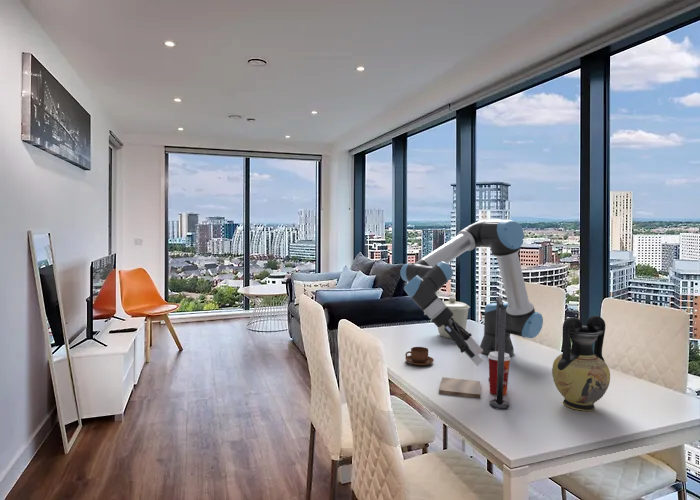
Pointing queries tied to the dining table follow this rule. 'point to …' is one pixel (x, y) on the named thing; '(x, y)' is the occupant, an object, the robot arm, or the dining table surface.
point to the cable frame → (500, 355)
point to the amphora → (582, 364)
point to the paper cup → (493, 371)
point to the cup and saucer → (419, 356)
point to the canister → (455, 314)
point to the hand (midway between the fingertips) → (480, 357)
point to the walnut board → (460, 387)
